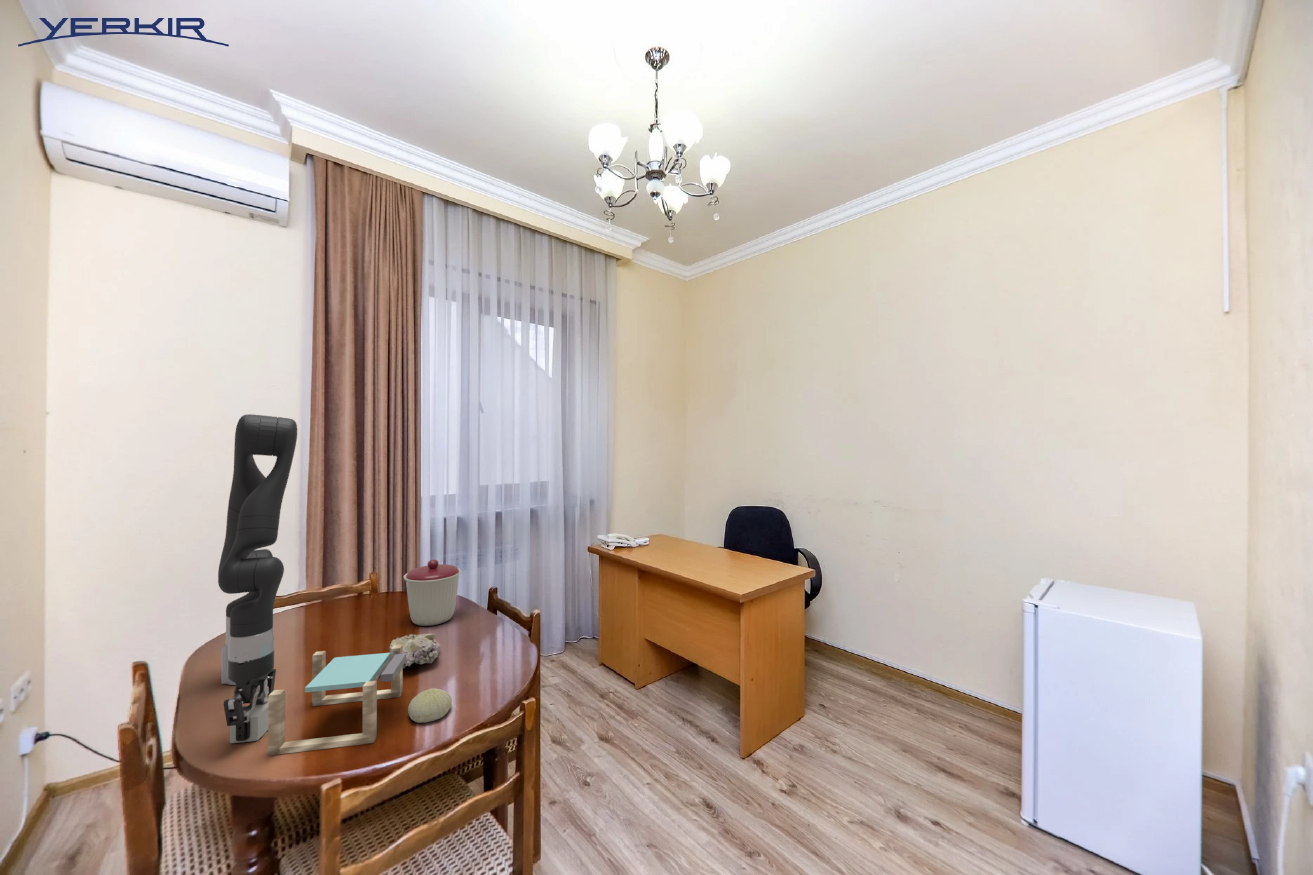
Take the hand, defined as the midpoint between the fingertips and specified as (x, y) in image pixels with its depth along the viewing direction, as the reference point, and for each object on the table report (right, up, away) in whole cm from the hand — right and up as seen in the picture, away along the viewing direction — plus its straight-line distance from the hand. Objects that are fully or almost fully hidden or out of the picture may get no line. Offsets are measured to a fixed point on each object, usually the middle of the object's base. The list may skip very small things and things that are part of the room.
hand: (251, 731), depth 102 cm
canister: (+9, -1, +64) cm, 65 cm away
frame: (+16, -1, +6) cm, 17 cm away
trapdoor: (+19, +9, +6) cm, 22 cm away
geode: (+19, -1, +34) cm, 38 cm away
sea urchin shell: (+34, -1, +8) cm, 35 cm away
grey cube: (0, -1, 0) cm, 1 cm away
